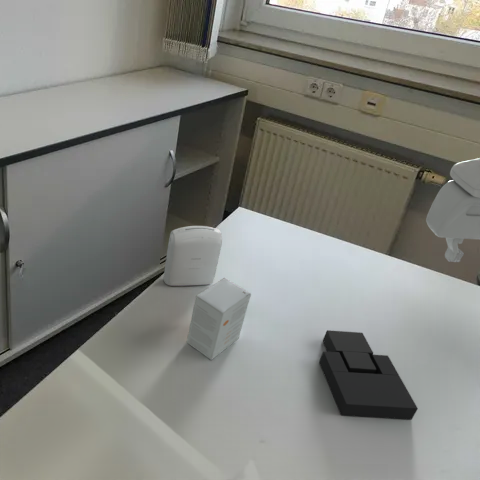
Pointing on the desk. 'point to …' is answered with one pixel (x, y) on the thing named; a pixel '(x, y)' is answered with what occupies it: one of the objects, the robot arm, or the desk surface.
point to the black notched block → (368, 389)
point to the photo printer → (192, 256)
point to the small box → (217, 317)
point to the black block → (351, 350)
